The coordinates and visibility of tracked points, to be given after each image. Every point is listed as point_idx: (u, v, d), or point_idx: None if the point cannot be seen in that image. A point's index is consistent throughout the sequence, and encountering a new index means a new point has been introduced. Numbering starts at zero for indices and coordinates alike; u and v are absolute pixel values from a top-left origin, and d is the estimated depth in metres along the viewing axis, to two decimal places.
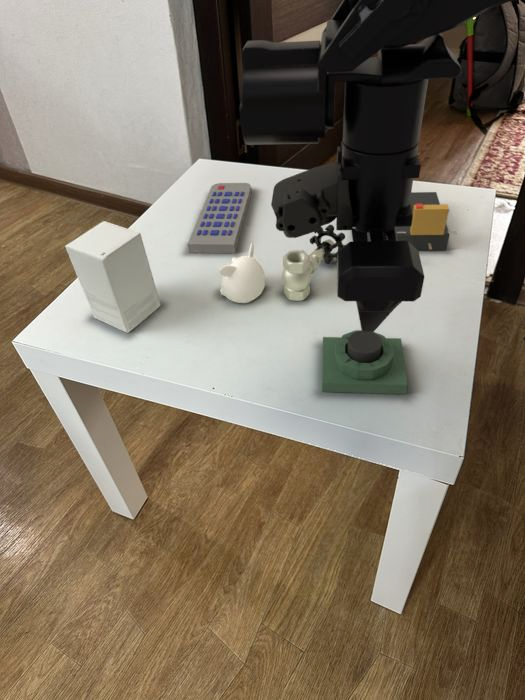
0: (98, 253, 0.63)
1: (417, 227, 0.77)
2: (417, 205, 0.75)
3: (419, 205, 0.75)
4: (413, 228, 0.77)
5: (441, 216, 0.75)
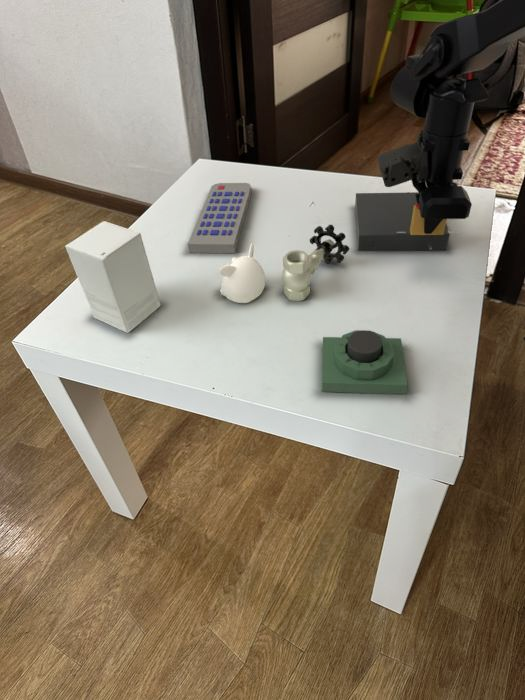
0: (98, 253, 0.63)
1: (417, 227, 0.77)
2: (417, 205, 0.75)
3: None
4: (413, 228, 0.77)
5: None
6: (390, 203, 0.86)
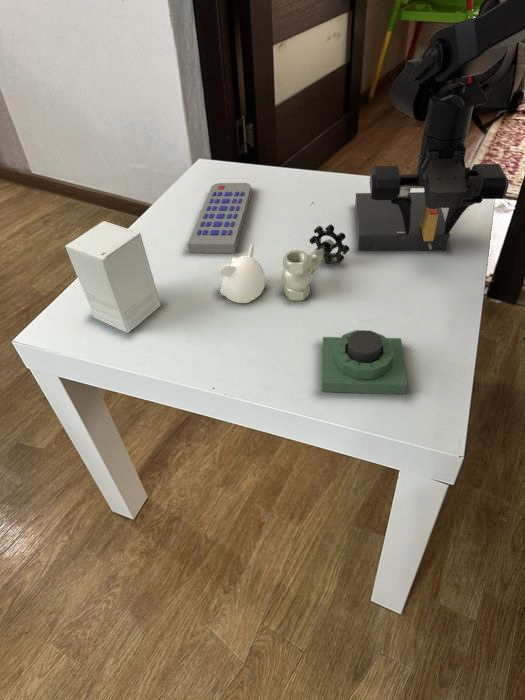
0: (98, 253, 0.63)
1: None
2: (433, 212, 0.74)
3: (433, 211, 0.74)
4: (434, 233, 0.76)
5: None
6: (390, 203, 0.86)
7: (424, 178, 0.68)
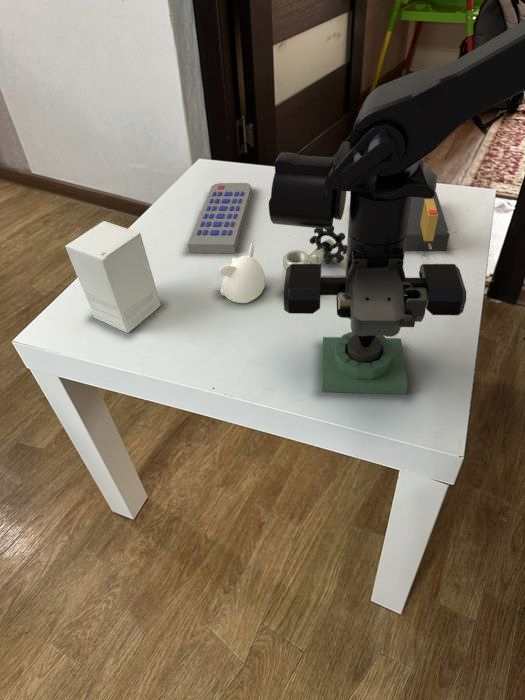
0: (98, 253, 0.63)
1: None
2: (433, 212, 0.74)
3: (433, 211, 0.74)
4: (434, 233, 0.76)
5: None
6: None
7: (349, 293, 0.49)
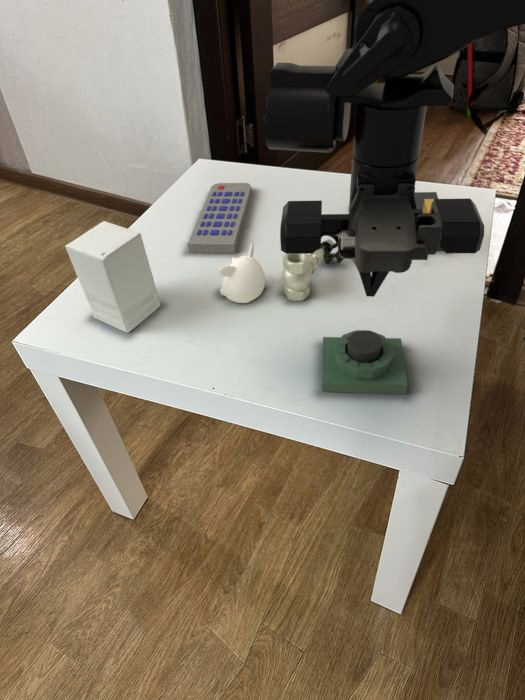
0: (98, 253, 0.63)
1: None
2: None
3: None
4: None
5: None
6: None
7: (353, 224, 0.44)
